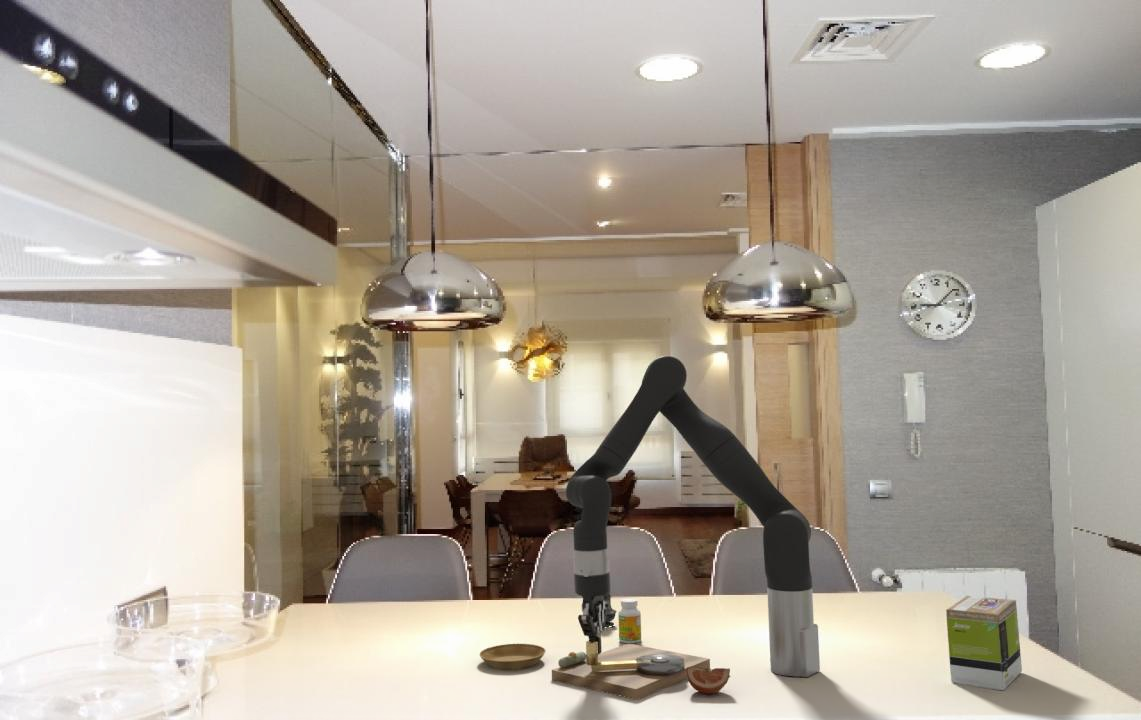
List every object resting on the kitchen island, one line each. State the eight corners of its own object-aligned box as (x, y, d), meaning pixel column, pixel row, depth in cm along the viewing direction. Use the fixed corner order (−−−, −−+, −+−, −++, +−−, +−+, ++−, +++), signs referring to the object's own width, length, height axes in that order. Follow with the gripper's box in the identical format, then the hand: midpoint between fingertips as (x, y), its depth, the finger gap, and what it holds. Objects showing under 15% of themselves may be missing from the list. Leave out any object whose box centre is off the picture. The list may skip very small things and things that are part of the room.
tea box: (970, 665, 185) (966, 593, 186) (1023, 673, 178) (1018, 599, 179) (949, 683, 173) (945, 607, 174) (1004, 692, 167) (999, 613, 168)
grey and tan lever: (679, 659, 186) (678, 631, 187) (689, 673, 177) (688, 643, 177) (584, 664, 185) (583, 636, 185) (589, 678, 175) (588, 648, 175)
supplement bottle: (615, 642, 211) (614, 601, 212) (624, 637, 216) (623, 597, 217) (636, 644, 209) (634, 603, 209) (644, 639, 214) (643, 598, 214)
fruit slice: (730, 688, 173) (729, 663, 174) (731, 699, 167) (730, 673, 167) (688, 687, 175) (687, 662, 175) (686, 698, 168) (685, 672, 169)
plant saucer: (486, 676, 188) (485, 663, 188) (474, 658, 202) (474, 647, 202) (553, 669, 191) (552, 656, 192) (537, 652, 206) (537, 640, 206)
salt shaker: (617, 622, 232) (616, 576, 233) (616, 628, 226) (615, 580, 227) (595, 622, 232) (593, 576, 233) (593, 628, 226) (592, 580, 227)
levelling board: (710, 668, 188) (709, 646, 188) (636, 699, 168) (635, 675, 168) (628, 652, 202) (627, 632, 202) (551, 679, 183) (551, 657, 183)
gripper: (585, 564, 192) (589, 644, 191) (563, 576, 180) (567, 662, 179) (618, 564, 189) (622, 646, 189) (598, 577, 177) (602, 664, 176)
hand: (595, 653), depth 184 cm, fingers closed
